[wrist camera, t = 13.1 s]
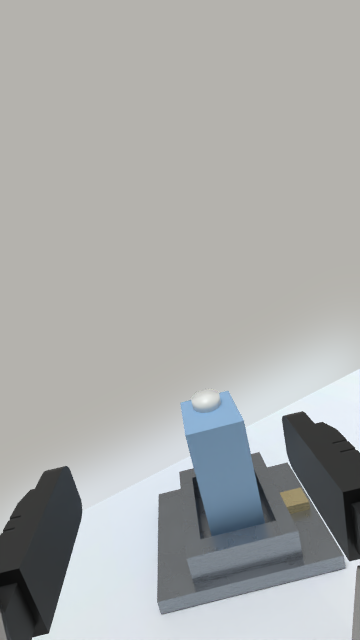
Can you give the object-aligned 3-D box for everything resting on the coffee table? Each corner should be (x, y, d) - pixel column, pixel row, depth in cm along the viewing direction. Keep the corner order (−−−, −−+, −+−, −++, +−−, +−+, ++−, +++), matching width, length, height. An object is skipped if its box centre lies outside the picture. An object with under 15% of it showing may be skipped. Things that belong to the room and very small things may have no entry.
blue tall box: (215, 553, 24) (182, 425, 21) (206, 503, 29) (178, 394, 26) (268, 539, 24) (241, 411, 22) (249, 491, 29) (226, 382, 26)
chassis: (161, 614, 22) (148, 576, 21) (161, 503, 32) (153, 474, 31) (345, 567, 22) (339, 528, 21) (288, 472, 32) (283, 442, 31)
